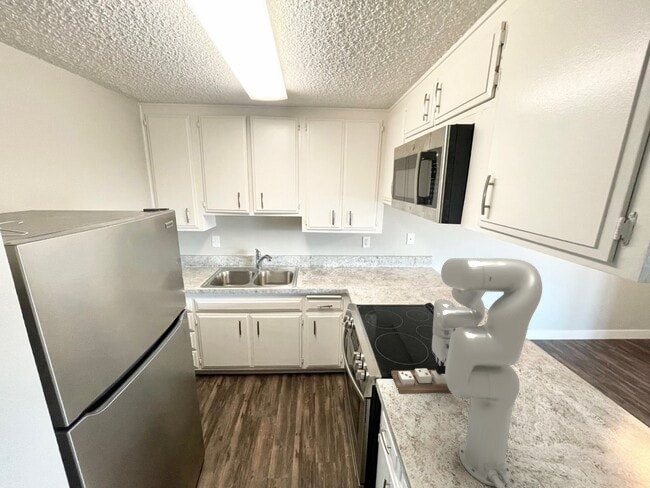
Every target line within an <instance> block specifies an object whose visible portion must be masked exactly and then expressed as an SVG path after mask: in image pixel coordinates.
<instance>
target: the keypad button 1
mask: <svg viewBox="0 0 650 488" xmlns="http://www.w3.org/2000/svg"><path fill="white" fill-rule="evenodd" d="M431 376H432V380H433V381H434V383H435V384H446V378H445V374H437V372H436V371H431Z"/></svg>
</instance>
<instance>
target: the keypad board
mask: <svg viewBox="0 0 650 488" xmlns="http://www.w3.org/2000/svg"><path fill="white" fill-rule="evenodd" d="M427 370H428V371H429V373H430V375H431V371H436V369H427ZM398 371H399V370H391V371H390V372H391V373H390V375H391V376H392V379H393V382H394V384H395V386H396V388H398V389H397V391H398V393H399V394H400V395H405V394H406V395H407V394H447V393H448V394H449V393H451V391H450V390H449V388H448V386H447V384H435V383H434V381H433V380H432V379H431V383H422V384H419V382H418V380H417V379H416V377H415V369H414V370H413V369H412V370H411V369H410V370H404V369H403V371H410V372H411V374H412V376H413V377H414V385H401V383H400V381H399V379H398Z"/></svg>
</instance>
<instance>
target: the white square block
mask: <svg viewBox="0 0 650 488" xmlns="http://www.w3.org/2000/svg"><path fill="white" fill-rule="evenodd" d="M397 371H398V379H399V381H400V383H401V385H414V377H413V376H412V374H411V372H410V371H404V370H397Z"/></svg>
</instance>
